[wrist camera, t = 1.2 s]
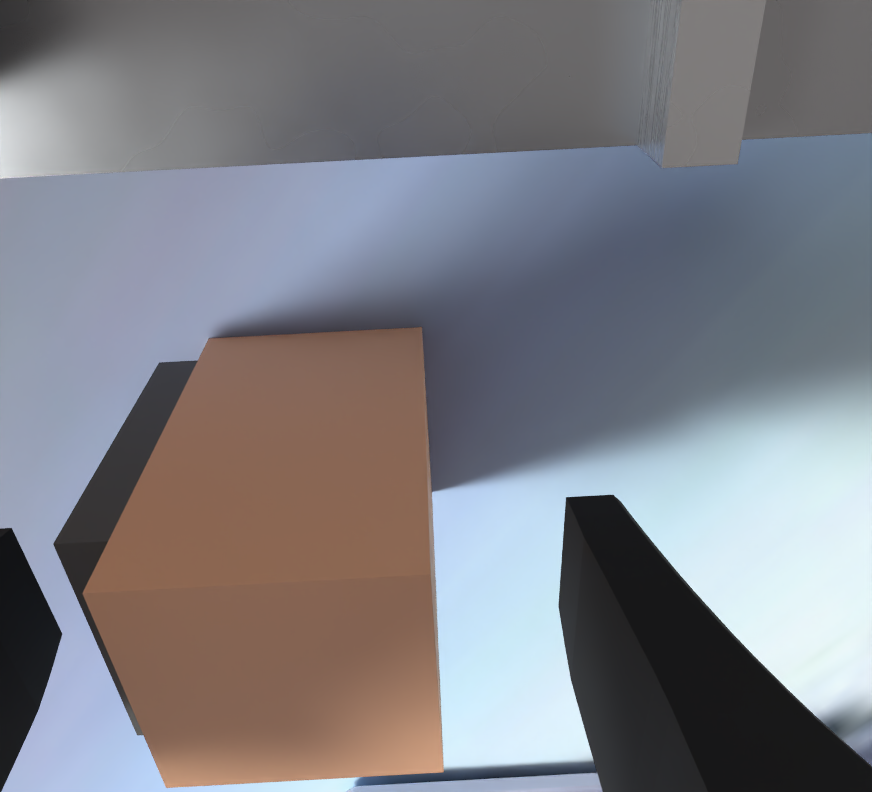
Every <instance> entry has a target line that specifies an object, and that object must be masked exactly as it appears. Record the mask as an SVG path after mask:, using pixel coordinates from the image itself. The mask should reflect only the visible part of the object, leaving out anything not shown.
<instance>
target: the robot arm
mask: <svg viewBox="0 0 872 792" xmlns="http://www.w3.org/2000/svg"><path fill="white" fill-rule="evenodd" d="M559 611H560V618H561V624H562V630H563V636H564V642H565V648H566V654H567V659H568V665H569V671H570V676H571V681H572V685H573V688H574V692H575V696H576V699H577V703H578V707H579V710H580V714H581V717H582V721H583V724H584V728H585V732H586V735H587V739H588V742H589V746H590V749H591V753H592V756H593V760H594V763H595V767H596V770H597V773H582V774H564V775H547V776H529V777H511V778H493V779H476V780H458V781H440V782H423V783H405V784H387V785H370V786H358V787H353V788H351V789H349V790H347V791H346V792H872V766H871V765H870V764H869V763H867V762H866V761H865V760H864V759H863V758H862V757H861V756H859V755H858V754H857V753H856V752H855V751H854V750H853V749H852V748H850V747H849V746H848V745H847V744H846V743H845V742H844V741H843V740H841V739H840V738H839V737H838V736H837V735H836V734H835V733H833V732H832V731H831V730H830V729H829V728H828V727H827V726H826V725H825V724H824V723H822V722H821V721H820V720H819V719H818V718H817V717H816V716H815V715H814V714H813V713H812V712H811V711H810V710H808V709H807V708H806V707H805V706H804V705H803V704H802V703H801V702H800V701H799V700H798V699H797V698H796V697H795V696H794V695H793V694H792V693H791V692H790V691H789V690H788V689H787V688H786V687H785V686H784V685H783V684H782V683H781V682H780V681H779V680H778V679H777V678H776V677H775V676H774V675H773V674H772V673H770V672H769V671H768V670H767V669H766V668H765V667H764V666H763V665H762V664H761V663H760V662H759V661H758V660H757V659H756V658H755V657H754V656H753V655H752V653H751V652H750V651H749V650H748V649H747V648H746V647H745V646H744V645H743V644H742V643H741V642H740V641H739V640H738V639H737V638H736V637H735V636H734V635H733V634H732V633H731V631H730V630H729V629H728V628H727V627H726V626H725V625H724V624H723V623H722V622H721V620H720V619H719V618H718V617H717V616H716V615H715V614H714V613H713V612H712V611H711V609H710V608H709V607H708V606H707V605H706V604H705V603H704V602H703V601H702V600H701V598H700V597H699V596H698V595H697V594H696V593H695V592H694V591H693V590H692V588H691V587H690V586H689V585H688V584H687V583H686V582H685V580H684V579H683V578H682V577H681V576H680V575H679V573H678V572H677V571H676V570H675V569H674V567H673V566H672V565H671V564H670V563H669V562H668V560H667V559H666V558H665V557H664V556H663V554H662V553H661V552H660V551H659V550H658V548H657V547H656V546H655V545H654V543H653V542H652V541H651V540H650V538H649V537H648V536H647V535H646V534H645V532H644V531H643V530H642V528H641V527H640V526H639V525H638V523H637V522H636V521H635V520H634V518H633V517H632V516H631V514H630V513H629V512H628V511H627V509H626V508H625V507H624V505H623V504H622V503H621V502H620V501H619V500H618V499H617V498H616V497H615V496H614V495H600V496H582V497H566V507H565V522H564V536H563V550H562V565H561V579H560V593H559ZM61 636H62V632H61V630H60V628H59V626H58V624H57V622H56V620H55V618H54V616H53V614H52V612H51V609H50V607H49V605H48V603H47V601H46V599H45V597H44V595H43V593H42V591H41V589H40V586H39V584H38V582H37V580H36V578H35V576H34V574H33V572H32V570H31V568H30V566H29V564H28V561H27V559H26V557H25V555H24V553H23V551H22V549H21V547H20V545H19V543H18V541H17V538H16V536H15V534H14V532H13V530H12V528H5V529H0V792H1V791H2V789H3V786H4V784H5V782H6V780H7V778H8V776H9V774H10V771H11V769H12V767H13V765H14V763H15V761H16V758H17V756H18V754H19V752H20V750H21V747H22V745H23V743H24V741H25V739H26V737H27V734H28V732H29V730H30V728H31V725H32V723H33V721H34V719H35V716H36V714H37V712H38V709H39V707H40V704H41V701H42V698H43V695H44V692H45V689H46V686H47V683H48V680H49V677H50V674H51V670H52V667H53V663H54V660H55V657H56V653H57V650H58V646H59V643H60V640H61Z"/></svg>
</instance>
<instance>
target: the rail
mask: <svg viewBox="0 0 872 792" xmlns="http://www.w3.org/2000/svg"><path fill="white" fill-rule="evenodd" d="M861 133H872V0H0V178H18V177H37V176H56V175H75V174H94V173H113V172H133V171H152V170H171V169H190V168H209V167H228V166H248V165H267V164H286V163H305V162H324V161H343V160H363V159H382V158H401V157H420V156H439V155H458V154H477V153H497V152H516V151H535V150H554V149H573V148H592V147H612V146H631V145H637V146H638V147H639V148H640V149H641V150H642V151H643V152H645V153H646V154H647V155H648V156H649V157H650V158H651V159H652V160H653V161H655V162H656V163H657V164H658V165H659V166H660V167H661V168H672V167H691V166H711V165H730V164H738V158H739V153H740V147H741V141H742V140H746V139H765V138H784V137H803V136H822V135H841V134H861Z"/></svg>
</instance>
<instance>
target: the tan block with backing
mask: <svg viewBox="0 0 872 792" xmlns="http://www.w3.org/2000/svg"><path fill="white" fill-rule="evenodd" d="M54 547H55V549H56V551H57V554H58V556H59V558H60V560H61V563H62V565H63V567H64V569H65V572H66V574H67V576H68V579H69V581H70V583H71V585H72V588H73V590H74V592H75V595H76V597H77V599H78V601H79V604H80V606H81V608H82V610H83V613H84V615H85V617H86V620H87V622H88V624H89V626H90V629H91V631H92V633H93V635H94V638H95V640H96V642H97V645H98V647H99V649H100V651H101V654H102V656H103V658H104V661H105V663H106V665H107V667H108V670H109V672H110V674H111V676H112V679H113V681H114V683H115V686H116V688H117V690H118V692H119V695H120V697H121V699H122V702H123V704H124V706H125V708H126V711H127V713H128V715H129V717H130V720H131V722H132V724H133V727H134V729H135V731H136V733H137V735H144V737H145V740H146V742H147V744H148V747H149V749H150V751H151V754H152V756H153V758H154V761H155V763H156V765H157V767H158V770H159V772H160V774H161V777H162V779H163V781H164V784H165V786H166V788H172V787H190V786H208V785H226V784H244V783H262V782H279V781H297V780H315V779H333V778H351V777H369V776H387V775H405V774H423V773H441V772H444V769H443V745H442V721H441V698H440V674H439V651H438V627H437V604H436V580H435V557H434V533H433V509H432V488H431V471H430V454H429V437H428V420H427V403H426V387H425V370H424V353H423V336H422V327H413V328H395V329H376V330H357V331H338V332H320V333H301V334H282V335H263V336H245V337H226V338H209V339H208V341H207V343H206V345H205V347H204V349H203V351H202V353H201V355H200V357H199V359H198V361H180V362H162V363H159V364H158V366H157V367H156V369H155V371H154V373H153V374H152V376H151V378H150V379H149V381H148V383H147V385H146V386H145V388H144V390H143V391H142V393H141V395H140V396H139V398H138V400H137V402H136V403H135V405H134V407H133V408H132V410H131V412H130V414H129V415H128V417H127V419H126V420H125V422H124V424H123V426H122V427H121V429H120V431H119V432H118V434H117V436H116V438H115V439H114V441H113V443H112V444H111V446H110V448H109V450H108V451H107V453H106V455H105V456H104V458H103V460H102V462H101V463H100V465H99V467H98V468H97V470H96V472H95V474H94V475H93V477H92V479H91V480H90V482H89V484H88V485H87V487H86V489H85V491H84V492H83V494H82V496H81V497H80V499H79V501H78V503H77V504H76V506H75V508H74V509H73V511H72V513H71V515H70V516H69V518H68V520H67V521H66V523H65V525H64V527H63V528H62V530H61V532H60V533H59V535H58V537H57V539H56V540H55V542H54Z"/></svg>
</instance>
